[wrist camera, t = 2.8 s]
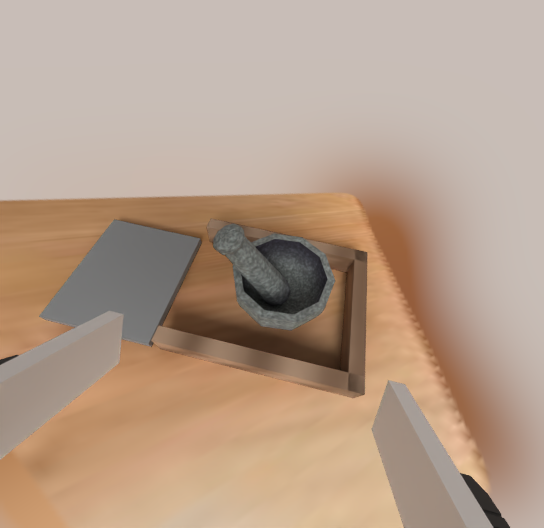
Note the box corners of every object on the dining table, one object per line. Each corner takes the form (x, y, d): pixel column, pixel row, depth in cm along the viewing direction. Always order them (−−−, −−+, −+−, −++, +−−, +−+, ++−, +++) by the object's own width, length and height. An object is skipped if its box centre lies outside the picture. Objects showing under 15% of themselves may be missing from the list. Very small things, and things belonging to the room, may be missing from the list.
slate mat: (45, 319, 27) (39, 316, 26) (117, 224, 35) (114, 219, 34) (151, 346, 26) (148, 344, 26) (201, 243, 34) (200, 238, 33)
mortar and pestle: (320, 275, 33) (350, 206, 22) (318, 349, 27) (356, 303, 17) (233, 262, 33) (224, 189, 23) (215, 334, 28) (193, 280, 18)
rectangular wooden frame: (160, 349, 26) (151, 340, 24) (213, 233, 35) (210, 218, 32) (353, 398, 25) (364, 394, 22) (358, 265, 34) (367, 252, 31)
